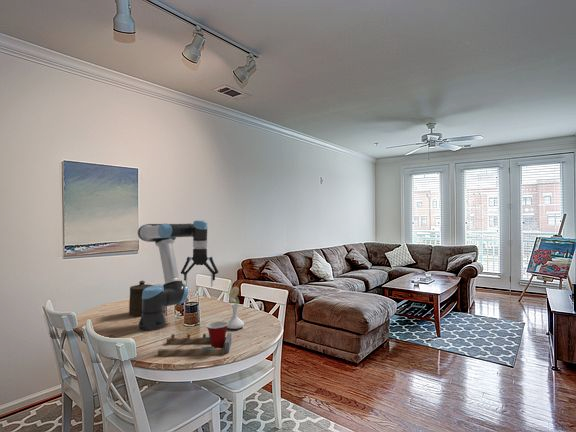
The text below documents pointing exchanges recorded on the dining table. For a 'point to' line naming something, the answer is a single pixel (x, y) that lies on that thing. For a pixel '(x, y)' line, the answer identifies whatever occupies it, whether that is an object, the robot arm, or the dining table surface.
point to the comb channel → (190, 351)
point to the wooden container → (136, 299)
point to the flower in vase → (234, 311)
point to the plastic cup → (217, 333)
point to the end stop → (228, 343)
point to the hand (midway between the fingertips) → (199, 286)
